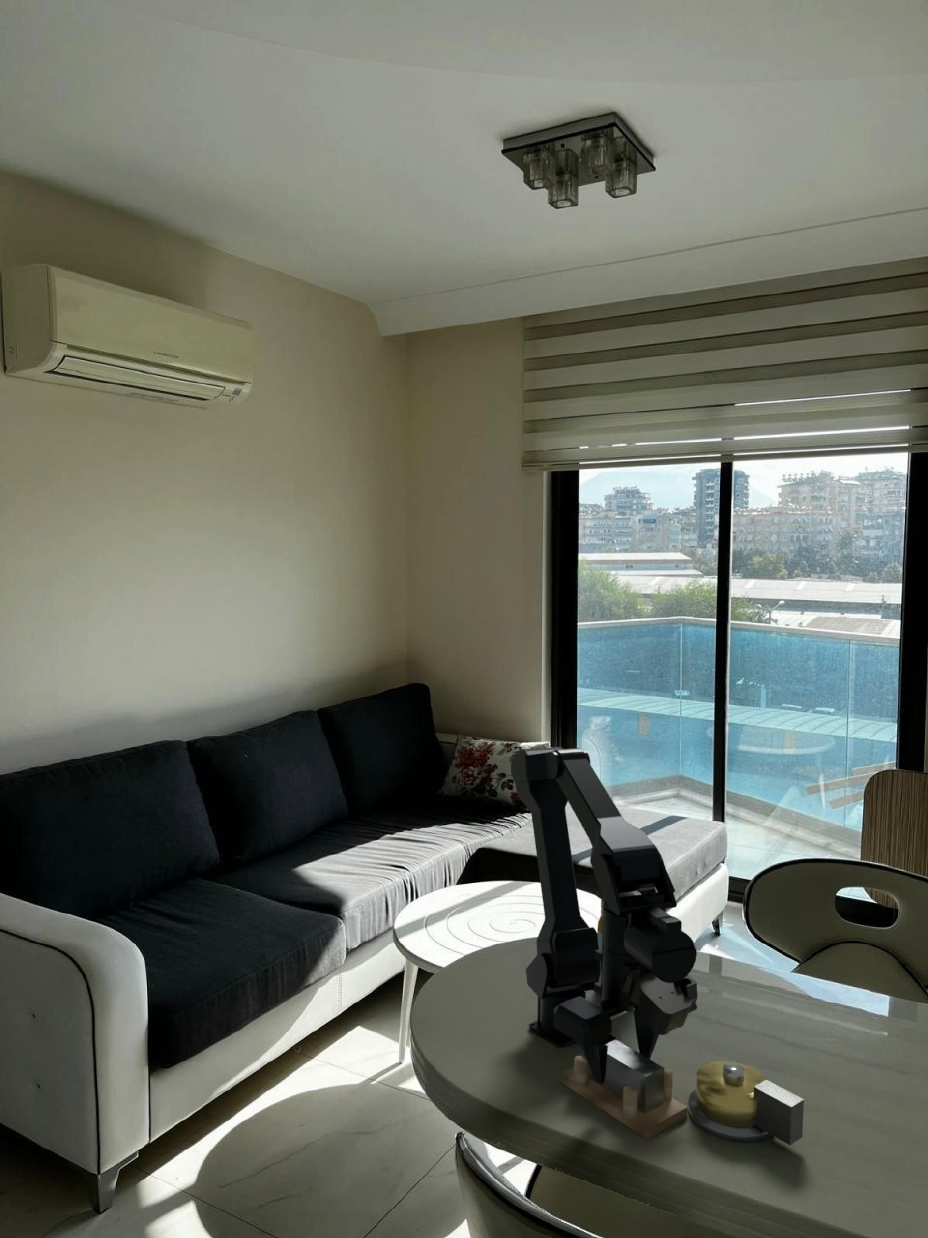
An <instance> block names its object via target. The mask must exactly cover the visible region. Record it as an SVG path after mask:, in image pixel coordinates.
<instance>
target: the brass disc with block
mask: <svg viewBox="0 0 928 1238" xmlns="http://www.w3.org/2000/svg"><path fill="white" fill-rule="evenodd" d="M726 1063H737V1064H739V1065H741V1066H742V1067H743V1068H744V1082H742V1083H740V1084H733V1083H729V1082H727V1081H726V1080H724V1078H723V1065H724V1064H726ZM696 1071H697V1072H696V1075H695V1076H696V1082H695V1089H696V1103H697V1106H698V1108H699V1109H700V1110H701V1111H702V1112H703V1113H704V1114H705V1115H706V1116H708V1117H709V1118H711V1119H713V1120H715V1121H717V1122H720V1123H723V1124H726V1125H730V1126H736V1127H751V1126H757V1127H759V1128H761V1129H762V1130H764V1131H766V1132H767V1133H769V1134H771V1136H773V1137H774V1138H776V1139H778V1140H780V1141H781V1142H783V1143H785V1144H787V1145H788V1146H791V1145H793V1144H794V1143H796V1142H798V1141H799V1140H800V1139H802V1138H803V1133H804V1132H803V1131H804V1130H803V1127H804V1110H805V1109H804V1108H805V1107H804V1105H805V1104H804V1103H805V1099H804V1098H803V1097H801V1096H798V1095H796V1094H794V1093H793V1092H791V1091H789V1090H787V1089H785V1088H783V1087H781V1086H779V1085H777V1084H775V1083H773V1082H772V1081H770V1080H769V1079H768V1077H767V1076H766V1075H765V1074H764V1073H762V1071H760V1070H758V1069H757V1068H755V1067H752V1066H750V1065H747V1064H744V1063H740V1062H737V1061H730V1060H715V1061H710V1062H706V1063H705V1064H702V1065H701V1066H700V1067H699V1068H698V1069H697V1070H696Z"/></svg>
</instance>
